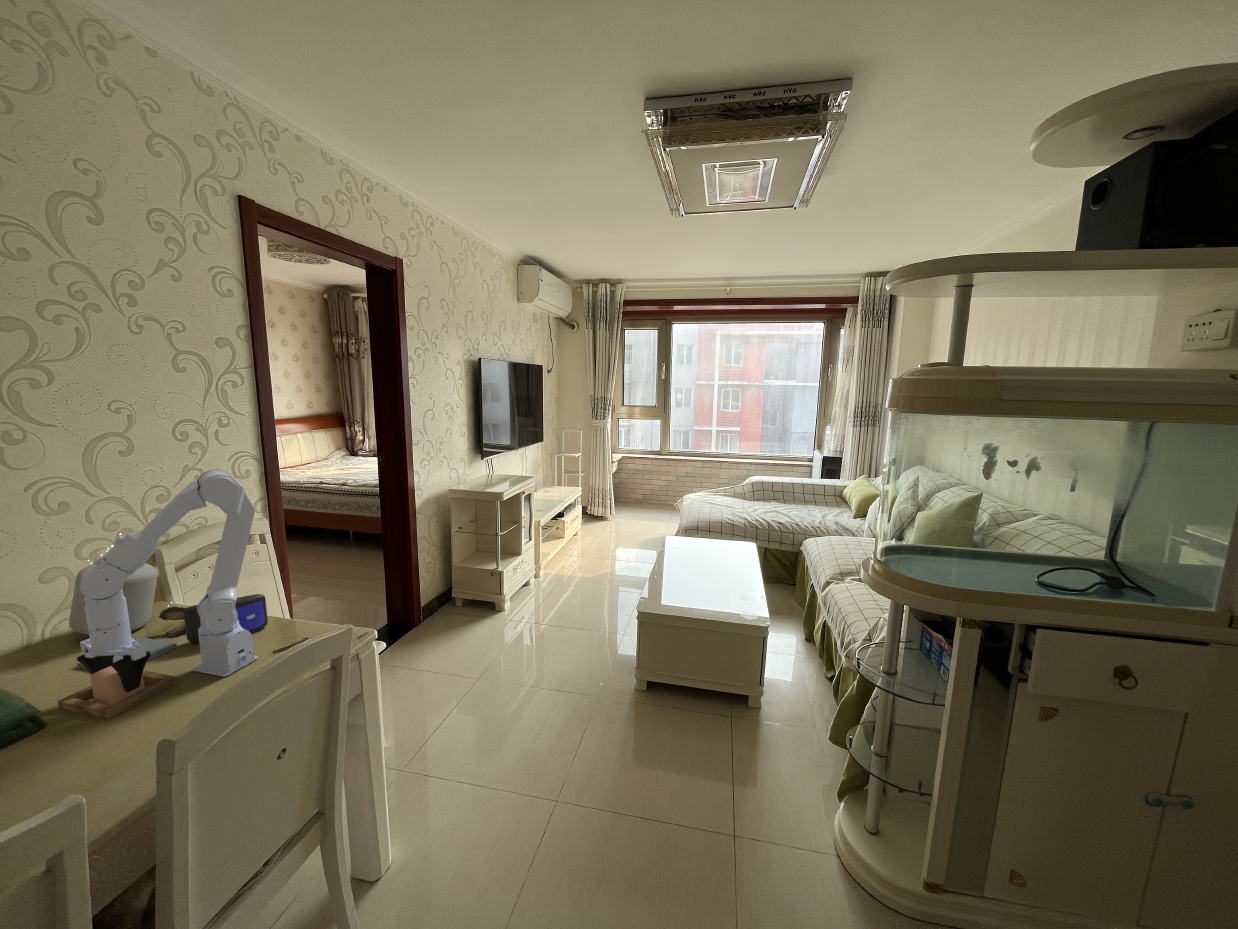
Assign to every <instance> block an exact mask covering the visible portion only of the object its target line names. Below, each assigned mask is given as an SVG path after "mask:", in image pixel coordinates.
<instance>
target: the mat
mask: <svg viewBox="0 0 1238 929" xmlns="http://www.w3.org/2000/svg"><path fill="white" fill-rule="evenodd" d="M133 639H134V640H135V641H136V642H137V643H138V644H139V645H141V646H143V647H145V650H146V651H148V652H150V653H151V656H150V657H149V659H148V661H150V660H152V659H154V658H157V657H159V656H161V655H163V654H166V653H167V652H170V651H172V650H174V649H176V648H178V646H177V643H175V642H171V641H165V640H160V639H159V640H158V639H153V638H149V637H148V638H147V637H143V636H141V637H140V636H138V637H136V638H133ZM121 659H123V656H120V655H114V658H113V663H114V662H116V661H118V660H121ZM76 667H77V668H79V669H84V670H85V669H86V667H85V666H84V665H82V664H81V663H80V662H79V661H77V662H76ZM86 670H87V669H86Z"/></svg>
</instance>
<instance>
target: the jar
mask: <svg viewBox="0 0 1238 929" xmlns="http://www.w3.org/2000/svg"><path fill="white" fill-rule="evenodd" d="M118 535H120V536H122V533H119V534H118ZM110 546H111V548H113V547H114V545H110ZM109 551H110V547H108V548H107V550H106V552H105V553H107V552H109ZM100 556H102V557H103V554H100ZM102 557H98V558H99V559H101V558H102ZM87 561H88V562H90V559H88V560H87ZM93 565H94V566H95V564H93V562H90V565H88V566H86V567H84V568H82V569H80V570H79V571H78V572H77V574H76V576H75V581H74V590H73V596H72V600H71V607H70V614H69V619H68V626H69V627H70V629H71V630H72V631H73V632H76V633H79V634H81V635H86V636H89V630H88V625H87V619H86V613H85V605H86V603H85V602H84V596H85V595H84V594H83V593H82V592H81V590H80V582H81V579H82V575H83V573H84V572H85V571H86V570H87V569H88V568H90V567H91V566H93ZM158 574H159V571H158V570H157V568H156V567H155V566H153V565H151V564H149V563H146V561H145V562H144V563H143V564H142V565H141V566H140V567H139V568H138V569H137V570H136V571H135V572H134V573H133V574H132V575H130V576H127V577H125V578H124V585H123V587H122V589H123V595H124V597H125V598H126V603H127V609H128V616H129V622H130V629H131V632H132V631H135V630H138V629H139V628H142V627H143V626H145V625H146V624H147V623H149V621H150V620H151V617H152V614H153V607H154V599H155V594H156V588H157V581H158ZM170 604H173V602H171V601H170ZM167 608H170V605H167Z"/></svg>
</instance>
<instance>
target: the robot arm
mask: <svg viewBox="0 0 1238 929" xmlns="http://www.w3.org/2000/svg"><path fill="white" fill-rule="evenodd" d="M245 490H246V489H244V487H243V486H242V485H241V484H240V483H239V481H237V479H235V478H234V477H233V476H232V475H231V474H229V473H228V472H227V471H225V470H221V469H209V470H206V471H204V472H202V473H201V474H200V475H199V476H198V478H197V479H194V480H192V481H191V482H190V483H188V484H187V485H186V486H185V487H184V488H182V490H180V492H178V493H177V494H176V495H175V496H174V497H173V498H172V499H171V500H170V501H169V502H168V503H167V505H165V506H164V507H163V508H162V509H161V510H160V511H159V512H158V513H157V515H155V517H154V518H153V519H151V520H150V521H149V523H147V524H146V526H144V527H143V528H142V530H139V531H133V532H128V533H127V534H126V535H125V536H122V535H120V536H118V537H117V538H116V539H115V540H114V544H115V545H113V547H111V549H109V550H108V552H105V554H104V555H102V557H97V558H96V559H94V561H93V562H92V565H93V564H95V566H94V565H93V566H91V567H90V568H88V569H87V570H86V571H85V572H84V573H83V575H82V579H81V582H80V590H81V592H82V593H83V594H84V595H85V596H84V602H85V603H86V605H85V613H86V619H87V625H88V630H89V635H88V636H89V638H87V639H84V640H81V641H80V642H79V644H80V649H81V652H84V653H83V654H80V655H79V656H77V657H76V661H77V662H80V663H81V664H82V665H84V666H85V667H86V670H87V672H89V674H90V675H92V674H94V673H96V672H98V671H101V670H103V669H105V668H107V667H110V666H111V667H113V668H114V669H115V670H116V672H117V673H118V675H119V676H120V679H121V682H122V685H123V688H124V690H125V691H126V692H130V691H132V690H134V689H136V688H138V687H140V683H141V678H142V673H143V670H145V666H146V664H147V662H148V661H149V660H148V659H149V657H150V656H151V653H150V652H148V651H146V650H145V647H143V646H141V645H139V644H138V643H137V642H136V641H135V640H134V639H135V638H133V637H132V631H131V629H130V622H129V616H128V609H127V603H126V598H125V597H124V595H123V589H122V587H123V585H124V578H125V577H127V576H130V575H132V574H133V573H134V572H135V571H136V570H137V569H138V568H139V567H140V566H141V565H142V564H143V563H144V562H145V563H146V561H147V560H148V559H149V558H151V556H152V555H153V554H155V553H156V552H157V551H158V549H159V544H158V540H159V539H160V538H161V537H163V536H164V535H165V534H166V533H167V532H168V531H169V530H170V529H171V528H173V527H174V526H175V525H176V523H178V522H179V521H180V520H181V519H183V517H184V516H186V515H187V514H188V513H190V512H191V511H195V510H198V509H203V508H207V507H208V505H207V504H206V502H207V503H210V504H212V505H214V506H216V507H217V508H218V507H219V508H220V510H221V511H222V512H223V513H224V514H225V515H226V518H225V523H224V527H223V530H222V534H221V539H220V542H219V547H218V551H217V555H216V558H215V564H214V567H213V571H212V575H211V576H212V577H211V580H210V583H209V586H208V587H207V588H206V593H205V595H204V597H203V598H202V599H201V600H200V601H199V603H198V604H197V605H198V607H197V612H198V614H199V616H200V621H201V626H200V628H199V629H198V635H199V643H198V644H199V651H200V656H201V663H200V664H198V665H197V666H194V667H193V668H192V669H191V671H193V672H196V673H201V674H207V675H212V676H217V677H218V676H219V677H223V678H224V677H228V676H230V675H232V674H233V673H235V672H236V671H239V670H240V669H241V668H244V667H245V666H247V665H249V664H250V663H252V662H255V661H256V660H258V659H259V656H258V655H255V649H254V648H255V647H254V640H253V635H252V634H253V633H250V632H249V631H247V630H245V629H243V628H242V627H241V626H240V624H239V620H238V619H237V618H238V614H237V611H236V609H235V604H236V598H238V597H237V588H238V584H239V579H240V575H241V572H242V568H243V563H244V558H245V554H246V550H247V547H248V542H249V538H250V533H251V530H252V526H253V522H254V517H255V513H256V511H255V507H254V505H253V504H252V502H251V500H250V498H249V496H248V494H247V492H246V491H245ZM99 558H101V559H99ZM114 655H120V656H123V659H121V660H118V661H116V662H114V663H113V658H114Z"/></svg>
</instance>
